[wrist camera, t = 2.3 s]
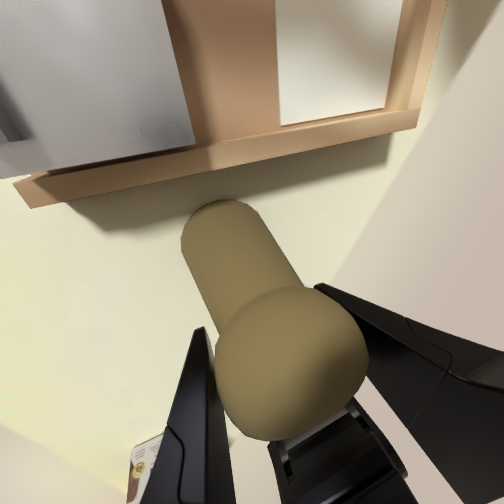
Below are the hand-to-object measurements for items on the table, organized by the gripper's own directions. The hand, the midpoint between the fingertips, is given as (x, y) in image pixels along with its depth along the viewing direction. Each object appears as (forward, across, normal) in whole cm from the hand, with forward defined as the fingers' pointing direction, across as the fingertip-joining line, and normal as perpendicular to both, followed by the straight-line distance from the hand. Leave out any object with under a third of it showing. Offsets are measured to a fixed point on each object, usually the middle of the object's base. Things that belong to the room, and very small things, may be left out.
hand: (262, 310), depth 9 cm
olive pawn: (+7, 0, 0) cm, 7 cm away
